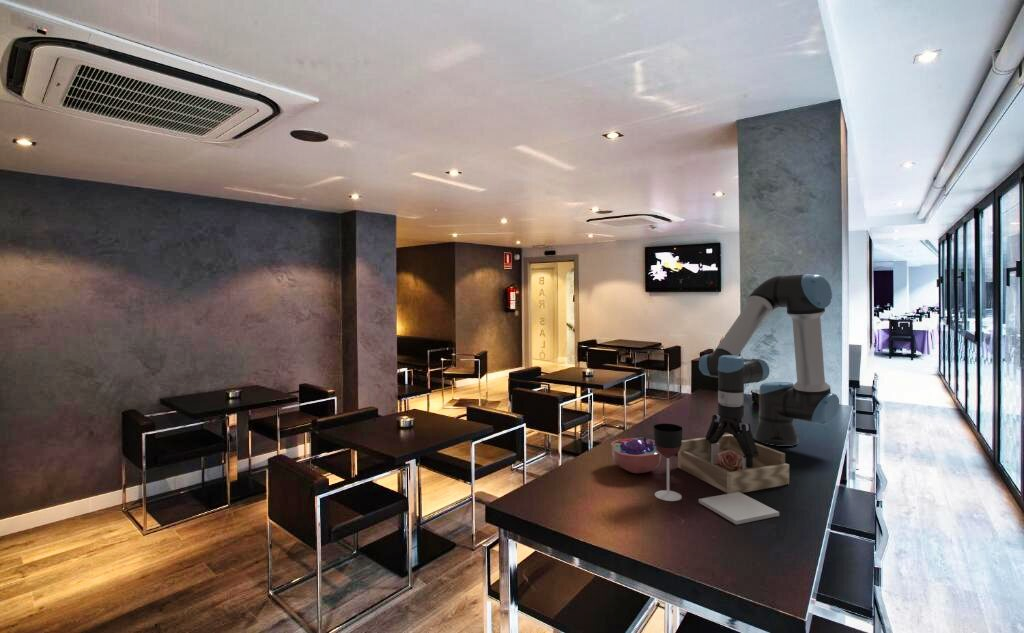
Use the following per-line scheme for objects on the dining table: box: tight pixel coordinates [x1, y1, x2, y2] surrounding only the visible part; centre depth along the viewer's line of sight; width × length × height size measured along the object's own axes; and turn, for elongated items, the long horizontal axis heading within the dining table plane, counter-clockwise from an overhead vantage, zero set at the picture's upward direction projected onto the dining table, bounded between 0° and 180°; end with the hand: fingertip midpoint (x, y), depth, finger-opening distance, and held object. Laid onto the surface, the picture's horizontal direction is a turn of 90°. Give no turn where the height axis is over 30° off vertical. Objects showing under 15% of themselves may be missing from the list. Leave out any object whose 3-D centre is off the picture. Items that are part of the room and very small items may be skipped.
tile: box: [698, 492, 780, 525], centre depth 131 cm, size 14×14×1 cm
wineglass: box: [653, 423, 683, 502], centre depth 141 cm, size 8×9×20 cm
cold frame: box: [677, 433, 790, 494], centre depth 155 cm, size 22×24×9 cm
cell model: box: [610, 437, 663, 474], centre depth 162 cm, size 17×20×11 cm
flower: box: [716, 449, 742, 472], centre depth 156 cm, size 9×9×7 cm
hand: (730, 470), depth 155 cm, fingers open, 13 cm apart
